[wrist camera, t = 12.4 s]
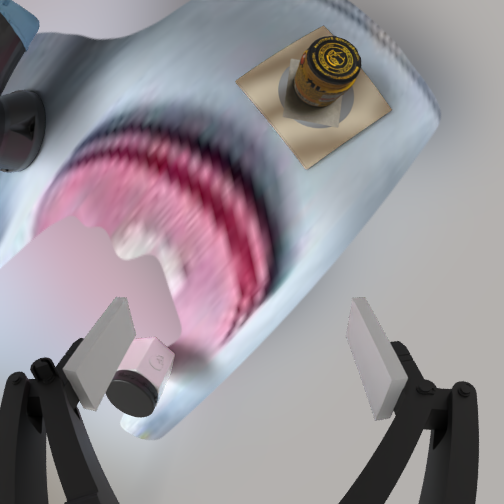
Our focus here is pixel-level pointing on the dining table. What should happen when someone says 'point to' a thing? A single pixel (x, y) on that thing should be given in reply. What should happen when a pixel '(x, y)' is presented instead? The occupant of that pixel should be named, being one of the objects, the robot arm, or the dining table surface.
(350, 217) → the dining table surface
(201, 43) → the dining table surface
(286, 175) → the dining table surface
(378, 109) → the board
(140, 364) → the jar
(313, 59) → the condiment
